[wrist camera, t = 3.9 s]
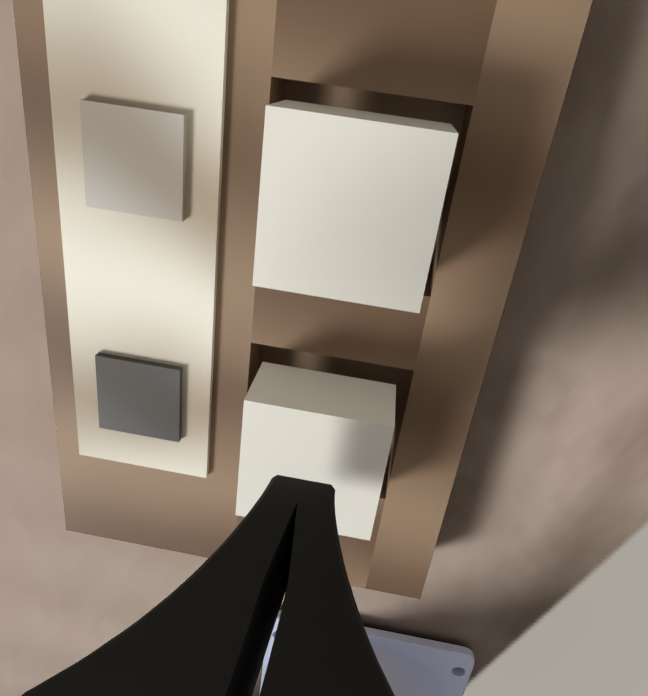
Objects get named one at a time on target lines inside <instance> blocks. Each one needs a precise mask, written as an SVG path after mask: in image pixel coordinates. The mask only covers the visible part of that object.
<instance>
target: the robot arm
mask: <svg viewBox="0 0 648 696" xmlns="http://www.w3.org/2000/svg"><path fill="white" fill-rule="evenodd" d="M285 590H286V591H285ZM284 594H285V598H284V602H283V606H282V610H279V609H280V606H281V603H282V600H283V597H284ZM263 659H264V660H263ZM474 662H475V661H474V654H473V652H472V651H471V650H470V649H469V648H467V647H464V646H459V645H454V644H449V643H444V642H439V641H434V640H429V639H424V638H419V637H414V636H409V635H404V634H399V633H394V632H389V631H384V630H379V629H374V628H369V627H364V625H363V622H362V620H361V617H360V614H359V611H358V608H357V605H356V602H355V599H354V596H353V593H352V589H351V586H350V583H349V579H348V576H347V572H346V568H345V564H344V560H343V555H342V551H341V546H340V541H339V536H338V530H337V523H336V515H335V489H334V488H333V486H332V485H330V484H325V483H320V482H314V481H309V480H303V479H298V478H292V477H287V476H282V475H276V476H274V477H273V478H272V479H271V481H270V482H269V484H268V486H267V487H266V489H265V490H264V492H263V493H262V495H261V496H260V498H259V499H258V501H257V502H256V503H255V505H254V506H253V507H252V509H251V510H250V511H249V513H248V514H247V515H246V516H245V518H244V519H243V520H242V521H241V522H240V524H239V525H238V526H237V527H236V528H235V530H234V531H233V532H232V533H231V535H230V536H229V537H228V538H227V539H226V540H225V541H224V542H223V543H222V545H221V546H220V547H219V548H218V549H217V550H216V551H215V552H214V553H213V554H212V555H211V556H210V557H209V558H208V559H207V560H206V561H205V562H204V564H203V565H202V566H201V567H200V568H198V569H197V570H196V571H195V572H194V573H193V574H192V575H191V576H190V577H189V578H188V579H187V580H186V581H185V582H184V583H183V584H181V585H180V586H179V587H178V588H177V589H176V590H175V591H174V592H172V593H171V594H170V595H169V596H168V597H167V598H165V599H164V600H163V601H162V602H160V603H159V604H158V605H157V606H156V607H154V608H153V609H152V610H151V611H149V612H148V613H147V614H146V615H144V616H143V617H142V618H141V619H139V620H138V621H137V622H135V623H134V624H133V625H131V626H130V627H129V628H127V629H126V630H124V631H123V632H121V633H120V634H119V635H117V636H116V637H114V638H113V639H111V640H110V641H108V642H107V643H105V644H104V645H102V646H101V647H100V648H98V649H97V650H95V651H94V652H92V653H91V654H89V655H88V656H86V657H85V658H83V659H81V660H80V661H78V662H77V663H75V664H73V665H72V666H70V667H68V668H67V669H65V670H63V671H61V672H60V673H58V674H56V675H55V676H53V677H51V678H49V679H48V680H46V681H44V682H43V683H41V684H39V685H37V686H36V687H34V688H32V689H30V690H29V691H27V692H25V693H24V694H23V695H22V696H252V695H253V691H254V688H255V684H256V681H257V678H258V675H259V672H260V669H261V666H262V663H263V668H262V676H261V685H260V693H259V696H463V694H464V691H465V688H466V686H467V683H468V680H469V678H470V675H471V672H472V670H473V667H474Z"/></svg>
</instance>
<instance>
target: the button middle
mask: <svg viewBox="0 0 648 696" xmlns="http://www.w3.org/2000/svg"><path fill="white" fill-rule="evenodd" d="M458 134H459V133H458V132H457V131H456V129H455V128H454V127H453V125H452V124H449V123H442V122H435V121H429V120H422V119H415V118H408V117H401V116H394V115H388V114H381V113H374V112H367V111H360V110H353V109H346V108H340V107H333V106H326V105H319V104H312V103H305V102H299V101H292V100H283V101H279V102H275V103H272V104H268V105H266V108H265V121H264V135H263V148H262V162H261V175H260V189H259V203H258V216H257V230H256V243H255V257H254V270H253V284H252V286H257V287H263V288H269V289H275V290H281V291H287V292H293V293H299V294H305V295H311V296H317V297H323V298H329V299H335V300H341V301H347V302H353V303H359V304H366V305H372V306H378V307H384V308H390V309H396V310H402V311H408V312H414V313H420V309H421V304H422V300H423V295H424V290H425V286H426V281H427V277H428V272H429V267H430V263H431V258H432V254H433V249H434V245H435V240H436V235H437V231H438V226H439V222H440V217H441V212H442V208H443V203H444V199H445V194H446V189H447V185H448V180H449V176H450V171H451V167H452V162H453V157H454V153H455V148H456V144H457V139H458Z"/></svg>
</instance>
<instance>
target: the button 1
mask: <svg viewBox="0 0 648 696" xmlns="http://www.w3.org/2000/svg"><path fill="white" fill-rule="evenodd" d="M395 405H396V385H394V384H389V383H383V382H377V381H371V380H366V379H360V378H354V377H348V376H343V375H337V374H331V373H325V372H320V371H314V370H308V369H302V368H297V367H291V366H285V365H279V364H273V363H268V362H262V364H261V366H260V368H259V370H258V372H257V374H256V376H255V378H254V380H253V382H252V385H251V387H250V389H249V391H248V393H247V395H246V397H245V399H244V405H243V419H242V432H241V446H240V459H239V473H238V486H237V500H236V513H235V515H237V516H243V517H245V516H246V515H247V514H248V513H249V511H250V510H251V509H252V507H253V506H254V505H255V503H256V502H257V501H258V499H259V498H260V496H261V495H262V493H263V492H264V490H265V489H266V487H267V486H268V484H269V482H270V481H271V479H272V478H273V477H274V476H276V475H282V476H287V477H292V478H298V479H303V480H309V481H314V482H320V483H325V484H330V485H332V486H333V488H334V489H335V515H336V523H337V530H338V535H343V536H348V537H353V538H358V539H364V540H369V541H370V538H371V534H372V529H373V525H374V520H375V515H376V511H377V506H378V502H379V497H380V492H381V488H382V483H383V479H384V474H385V469H386V465H387V460H388V456H389V451H390V447H391V442H392V437H393V433H394V428H395Z"/></svg>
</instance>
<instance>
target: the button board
mask: <svg viewBox="0 0 648 696" xmlns="http://www.w3.org/2000/svg"><path fill="white" fill-rule="evenodd" d="M592 1H593V0H13V7H14V17H15V26H16V36H17V46H18V56H19V66H20V76H21V86H22V96H23V106H24V115H25V125H26V135H27V145H28V155H29V165H30V175H31V185H32V195H33V205H34V214H35V224H36V234H37V244H38V254H39V264H40V274H41V284H42V294H43V303H44V313H45V323H46V333H47V343H48V353H49V363H50V373H51V383H52V393H53V402H54V412H55V422H56V432H57V442H58V452H59V462H60V472H61V482H62V492H63V501H64V511H65V521H66V530H69V531H74V532H79V533H85V534H90V535H95V536H100V537H105V538H110V539H115V540H120V541H126V542H131V543H136V544H141V545H146V546H151V547H156V548H161V549H167V550H172V551H177V552H182V553H187V554H192V555H197V556H202V557H208V558H209V557H210V556H211V555H212V554H213V553H214V552H215V551H216V550H217V549H218V548H219V547H220V546H221V545H222V543H223V542H224V541H225V540H226V539H227V538H228V537H229V536H230V535H231V533H232V532H233V531H234V530H235V528H236V527H237V526H238V525H239V524H240V522H241V521H242V520H243V519H244V518H245V517H243V516H237V515H235V513H236V500H237V486H238V473H239V459H240V446H241V432H242V419H243V405H244V399H245V397H246V395H247V393H248V391H249V389H250V387H251V385H252V382H253V380H254V378H255V376H256V374H257V372H258V370H259V368H260V366H261V364H262V362H268V363H273V364H279V365H285V366H291V367H297V368H302V369H308V370H314V371H320V372H325V373H331V374H337V375H343V376H348V377H354V378H360V379H366V380H371V381H377V382H383V383H389V384H394V385H396V405H395V428H394V433H393V437H392V442H391V447H390V451H389V456H388V460H387V465H386V469H385V474H384V479H383V483H382V488H381V492H380V497H379V502H378V506H377V511H376V515H375V520H374V525H373V529H372V534H371V538H370V541H369V540H364V539H358V538H353V537H348V536H343V535H338V536H339V541H340V546H341V551H342V555H343V560H344V564H345V568H346V572H347V576H348V579H349V583H350V585H351V586H356V587H361V588H366V589H371V590H377V591H382V592H387V593H392V594H397V595H402V596H407V597H412V598H418V599H420V597H421V594H422V591H423V587H424V584H425V580H426V577H427V573H428V570H429V566H430V563H431V559H432V556H433V552H434V549H435V545H436V542H437V539H438V535H439V532H440V528H441V525H442V521H443V518H444V514H445V511H446V507H447V504H448V500H449V497H450V493H451V490H452V487H453V483H454V480H455V476H456V473H457V469H458V466H459V462H460V459H461V455H462V452H463V448H464V445H465V441H466V438H467V435H468V431H469V428H470V424H471V421H472V417H473V414H474V410H475V407H476V403H477V400H478V396H479V393H480V389H481V386H482V382H483V379H484V376H485V372H486V369H487V365H488V362H489V358H490V355H491V351H492V348H493V344H494V341H495V337H496V334H497V330H498V327H499V324H500V320H501V317H502V313H503V310H504V306H505V303H506V299H507V296H508V292H509V289H510V285H511V282H512V278H513V275H514V272H515V268H516V265H517V261H518V258H519V254H520V251H521V247H522V244H523V240H524V237H525V233H526V230H527V226H528V223H529V220H530V216H531V213H532V209H533V206H534V202H535V199H536V195H537V192H538V188H539V185H540V181H541V178H542V174H543V171H544V167H545V164H546V161H547V157H548V154H549V150H550V147H551V143H552V140H553V136H554V133H555V129H556V126H557V122H558V119H559V115H560V112H561V109H562V105H563V102H564V98H565V95H566V91H567V88H568V84H569V81H570V77H571V74H572V70H573V67H574V63H575V60H576V57H577V53H578V50H579V46H580V43H581V39H582V36H583V32H584V29H585V25H586V22H587V18H588V15H589V11H590V8H591V4H592ZM283 100H292V101H299V102H305V103H312V104H319V105H326V106H333V107H340V108H346V109H353V110H360V111H367V112H374V113H381V114H388V115H394V116H401V117H408V118H415V119H422V120H429V121H435V122H442V123H449V124H452V125H453V127H454V128H455V129H456V131H457V132H458V133H459V134H458V139H457V144H456V148H455V153H454V157H453V162H452V167H451V171H450V176H449V180H448V185H447V189H446V194H445V199H444V203H443V208H442V212H441V217H440V222H439V226H438V231H437V235H436V240H435V245H434V249H433V254H432V258H431V263H430V267H429V272H428V277H427V281H426V286H425V290H424V295H423V300H422V304H421V309H420V313H414V312H408V311H402V310H396V309H390V308H384V307H378V306H372V305H366V304H359V303H353V302H347V301H341V300H335V299H329V298H323V297H317V296H311V295H305V294H299V293H293V292H287V291H281V290H275V289H269V288H263V287H257V286H252V284H253V270H254V257H255V243H256V230H257V216H258V203H259V189H260V175H261V162H262V148H263V135H264V121H265V108H266V105H268V104H272V103H275V102H279V101H283Z"/></svg>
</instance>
